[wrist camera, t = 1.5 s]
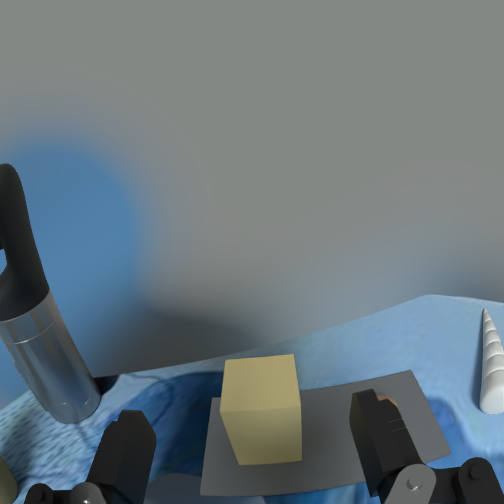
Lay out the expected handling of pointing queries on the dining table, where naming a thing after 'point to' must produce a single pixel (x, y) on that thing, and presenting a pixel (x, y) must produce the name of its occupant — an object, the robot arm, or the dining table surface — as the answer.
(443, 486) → the robot arm
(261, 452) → the tall cream block
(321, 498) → the dining table surface
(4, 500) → the squeeze bottle
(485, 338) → the unicorn horn
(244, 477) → the mat
